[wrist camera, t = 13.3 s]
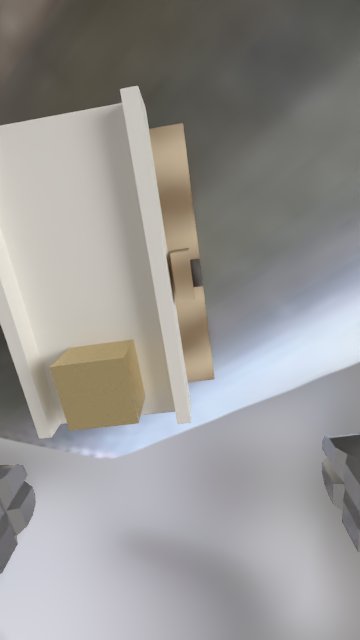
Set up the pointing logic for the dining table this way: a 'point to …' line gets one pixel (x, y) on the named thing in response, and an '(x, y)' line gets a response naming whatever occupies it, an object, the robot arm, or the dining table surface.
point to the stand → (182, 248)
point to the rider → (100, 385)
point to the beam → (86, 253)
